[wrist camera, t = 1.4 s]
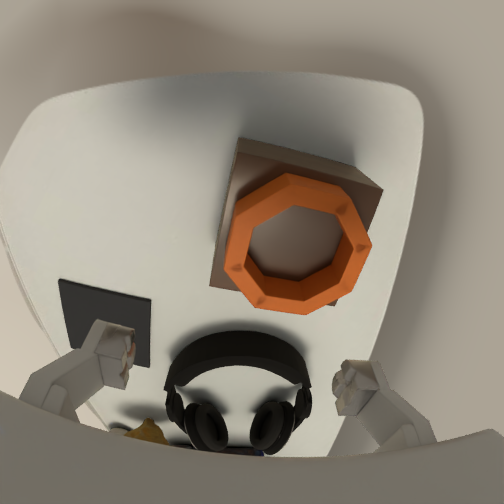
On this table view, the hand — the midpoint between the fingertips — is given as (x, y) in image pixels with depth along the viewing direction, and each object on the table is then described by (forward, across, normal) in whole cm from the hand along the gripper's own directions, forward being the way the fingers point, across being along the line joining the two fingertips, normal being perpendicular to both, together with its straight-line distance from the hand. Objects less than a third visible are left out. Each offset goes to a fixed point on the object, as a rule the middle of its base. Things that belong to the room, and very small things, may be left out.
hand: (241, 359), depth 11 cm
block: (+17, -4, 0) cm, 17 cm away
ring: (+11, -4, 0) cm, 12 cm away
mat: (+17, +12, +18) cm, 28 cm away
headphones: (+17, -4, +24) cm, 30 cm away
